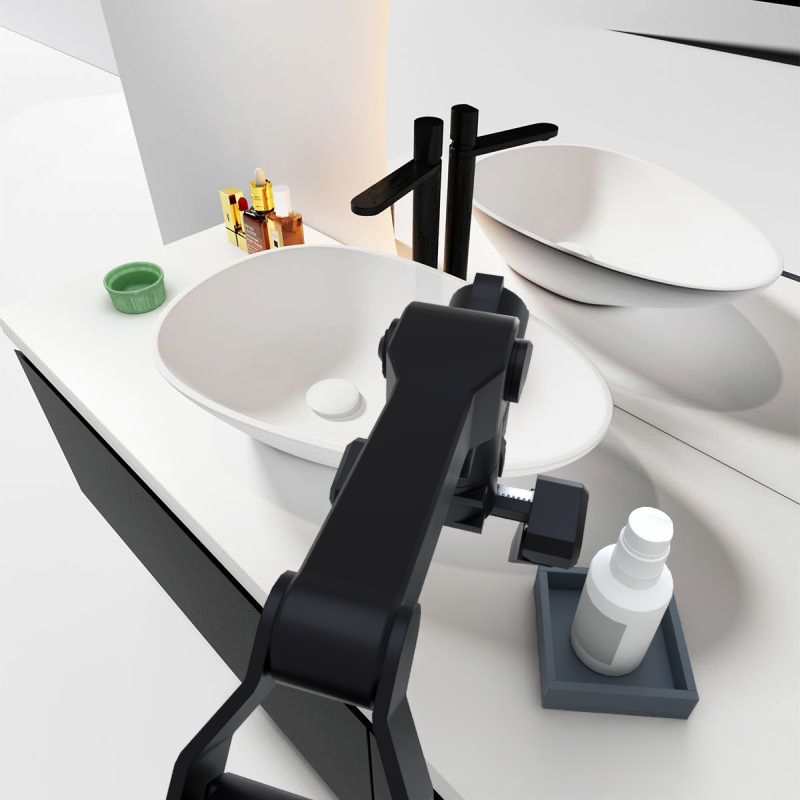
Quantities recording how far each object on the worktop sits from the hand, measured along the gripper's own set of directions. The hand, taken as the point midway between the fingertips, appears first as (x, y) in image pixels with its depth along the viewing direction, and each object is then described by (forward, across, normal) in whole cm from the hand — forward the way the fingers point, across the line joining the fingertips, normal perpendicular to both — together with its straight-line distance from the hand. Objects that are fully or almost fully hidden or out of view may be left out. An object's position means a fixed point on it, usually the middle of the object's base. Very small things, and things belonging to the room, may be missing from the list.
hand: (457, 544), depth 59 cm
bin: (+13, -14, +1) cm, 20 cm away
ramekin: (+22, +60, -37) cm, 74 cm away
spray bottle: (+12, -14, +1) cm, 19 cm away
